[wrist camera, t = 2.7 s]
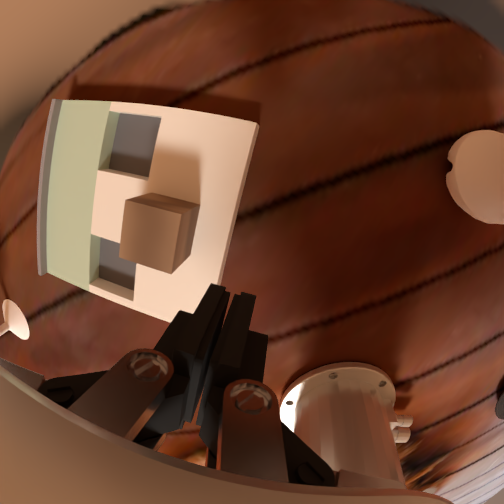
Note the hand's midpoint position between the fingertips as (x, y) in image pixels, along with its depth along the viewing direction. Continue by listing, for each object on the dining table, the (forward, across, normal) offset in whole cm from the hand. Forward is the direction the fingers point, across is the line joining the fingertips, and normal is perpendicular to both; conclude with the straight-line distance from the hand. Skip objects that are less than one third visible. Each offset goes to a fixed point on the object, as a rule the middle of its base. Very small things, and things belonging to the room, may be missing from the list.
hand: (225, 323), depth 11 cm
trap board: (+13, +11, +1) cm, 17 cm away
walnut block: (+11, +6, +1) cm, 13 cm away
